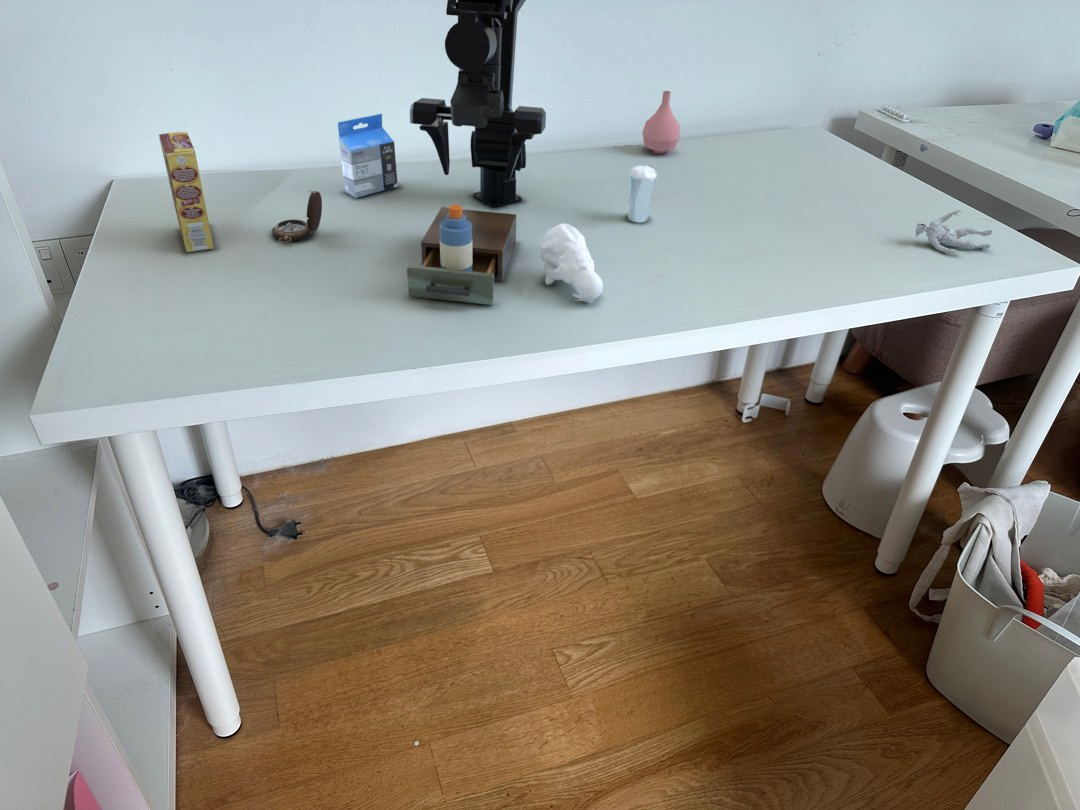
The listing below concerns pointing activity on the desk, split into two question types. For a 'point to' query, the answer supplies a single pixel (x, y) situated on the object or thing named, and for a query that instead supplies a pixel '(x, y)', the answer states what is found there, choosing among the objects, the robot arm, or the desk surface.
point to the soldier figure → (950, 235)
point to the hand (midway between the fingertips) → (477, 177)
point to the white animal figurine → (570, 261)
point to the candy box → (186, 190)
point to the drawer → (454, 279)
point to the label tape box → (367, 156)
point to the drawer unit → (480, 235)
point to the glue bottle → (456, 240)
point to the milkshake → (640, 192)
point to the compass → (301, 222)
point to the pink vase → (662, 128)
